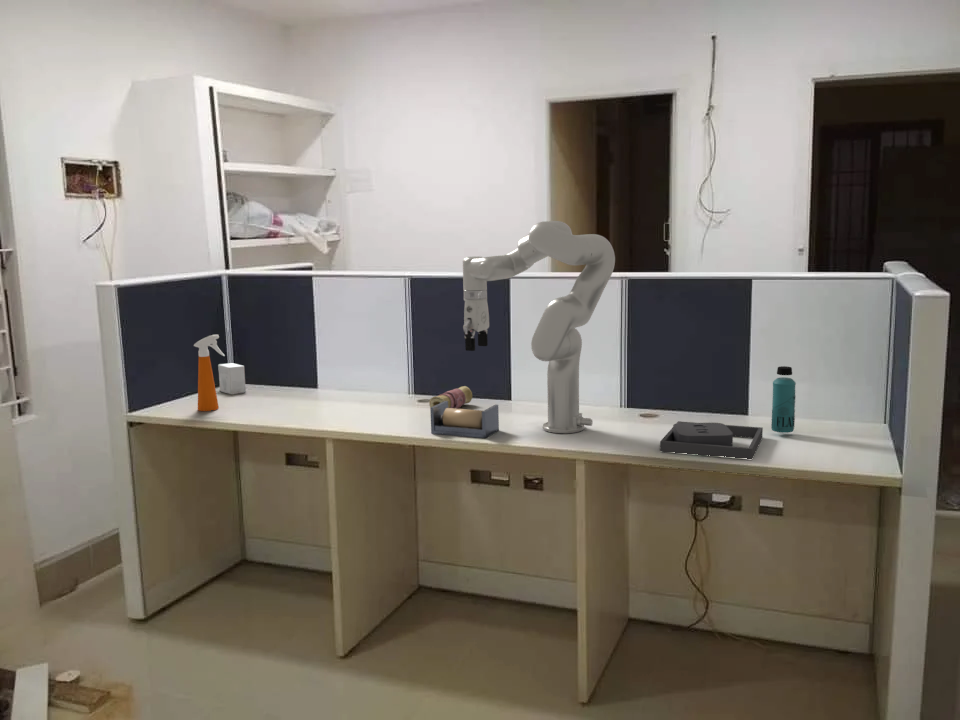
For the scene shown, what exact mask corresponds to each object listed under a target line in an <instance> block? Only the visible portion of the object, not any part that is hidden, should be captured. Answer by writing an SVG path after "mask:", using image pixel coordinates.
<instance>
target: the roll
mask: <svg viewBox="0 0 960 720" xmlns="http://www.w3.org/2000/svg"><path fill="white" fill-rule="evenodd" d="M482 411H483V410H479V409H466V408H458V409H456V408H446V409H445V411H444V413H443V425H444V426H455V427H467V428H478V429H482Z"/></svg>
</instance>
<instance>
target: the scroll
mask: <svg viewBox="0 0 960 720" xmlns="http://www.w3.org/2000/svg"><path fill="white" fill-rule="evenodd" d="M472 399H473V391H472V390H471V389H470V387H468V386H466V385H464V386H460V387H457V388H453V389H451V390H447V391H445V392H443V393H441V394H438V395H437V396H432V397H431V398H430V399H429V409H430V408H431V407H433V406H435V405H437V404H439V403H442V402H444V401H448V408H456V409H461V407H462V406H463V405H465V404H466V405H467V404H469V403H471V402H472Z"/></svg>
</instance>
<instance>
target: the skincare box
mask: <svg viewBox="0 0 960 720" xmlns="http://www.w3.org/2000/svg"><path fill="white" fill-rule="evenodd" d="M217 368H218V380H219V392H222V393H224V394H225V393H226V394H228V395H235V394H243V393H246V392H247V391H246V373H245V371H246V370H245V365H242V364H239V363H234V362H230V363H229V362H228V363H219V364H218V365H217Z"/></svg>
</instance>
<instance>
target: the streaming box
mask: <svg viewBox="0 0 960 720" xmlns="http://www.w3.org/2000/svg"><path fill="white" fill-rule="evenodd" d="M726 425H727V424H724V423H721V422H694V423H677V422H676V423H674V424H673V426H672V428H673V442H685V443H697V444H709V445H721V446H733V441H734V440H733V438H734V436H733V433H732V432H731V430H730V429H729V428H728V427H727V426H726ZM733 447H734V446H733Z"/></svg>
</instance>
